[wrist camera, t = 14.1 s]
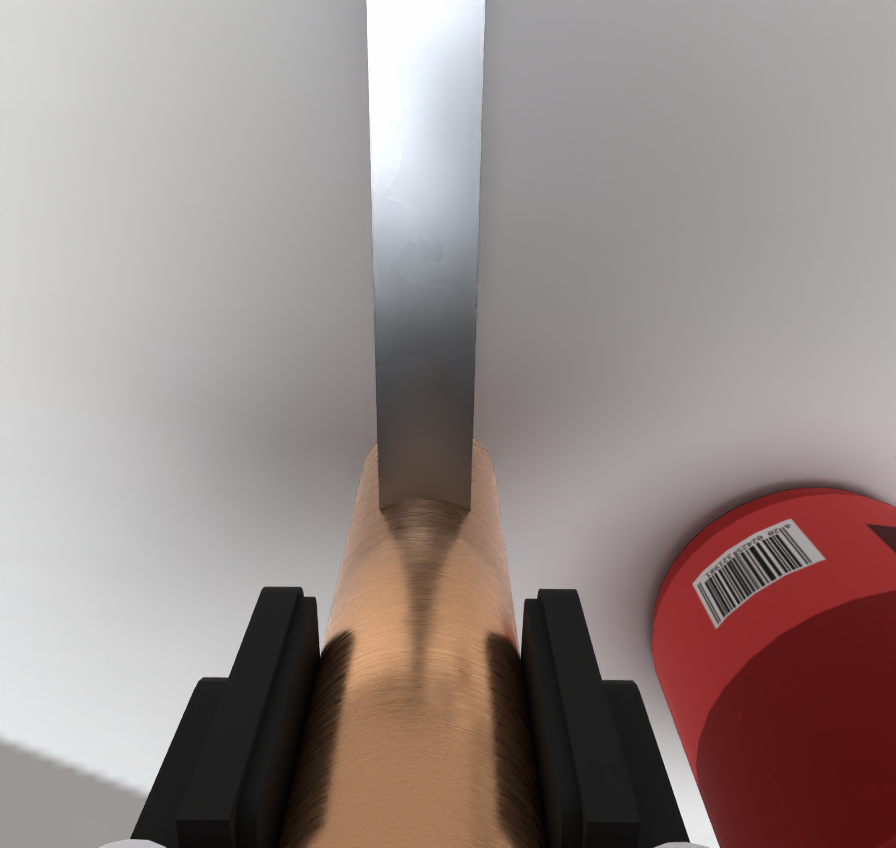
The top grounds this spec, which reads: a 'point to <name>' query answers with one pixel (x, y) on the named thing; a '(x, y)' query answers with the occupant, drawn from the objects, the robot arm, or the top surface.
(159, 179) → the top surface
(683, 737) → the canned food
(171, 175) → the top surface
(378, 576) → the double handled crank lever
